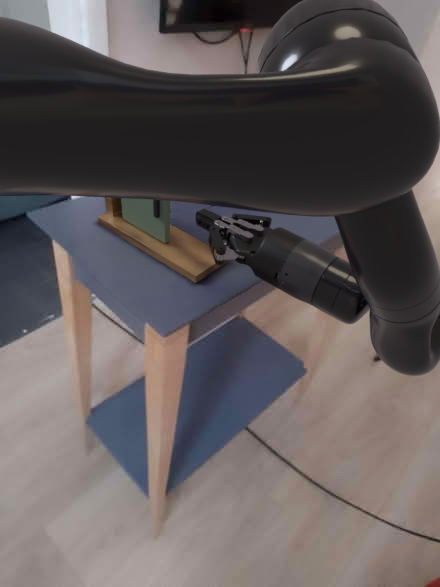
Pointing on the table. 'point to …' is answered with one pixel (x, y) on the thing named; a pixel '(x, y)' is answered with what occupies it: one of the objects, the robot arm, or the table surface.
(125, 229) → the door frame
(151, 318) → the table surface
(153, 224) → the door
